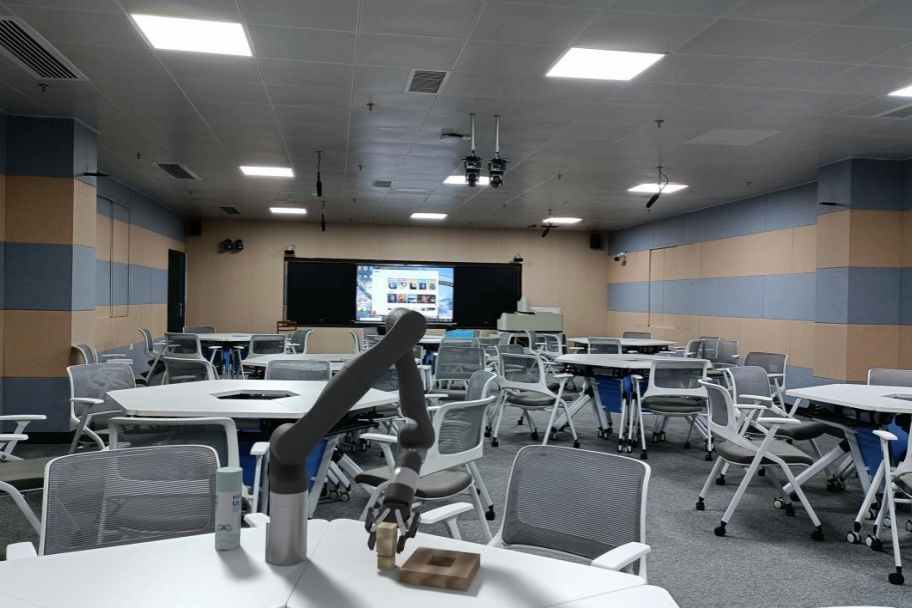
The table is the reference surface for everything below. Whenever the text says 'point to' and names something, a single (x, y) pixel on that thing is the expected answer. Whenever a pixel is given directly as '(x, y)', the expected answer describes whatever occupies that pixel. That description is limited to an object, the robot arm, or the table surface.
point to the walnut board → (440, 568)
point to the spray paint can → (228, 508)
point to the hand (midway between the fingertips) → (384, 550)
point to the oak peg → (386, 544)
